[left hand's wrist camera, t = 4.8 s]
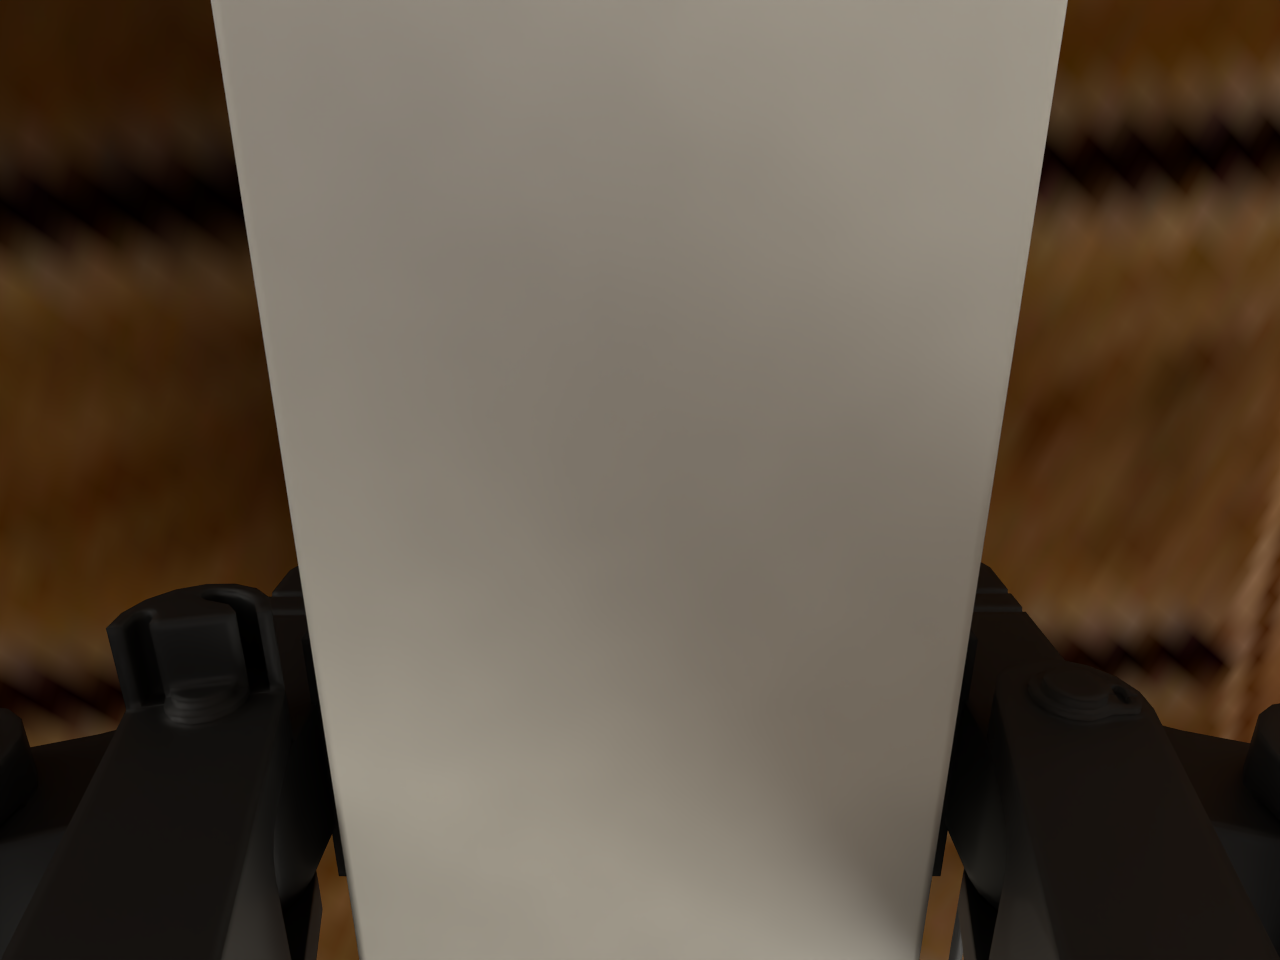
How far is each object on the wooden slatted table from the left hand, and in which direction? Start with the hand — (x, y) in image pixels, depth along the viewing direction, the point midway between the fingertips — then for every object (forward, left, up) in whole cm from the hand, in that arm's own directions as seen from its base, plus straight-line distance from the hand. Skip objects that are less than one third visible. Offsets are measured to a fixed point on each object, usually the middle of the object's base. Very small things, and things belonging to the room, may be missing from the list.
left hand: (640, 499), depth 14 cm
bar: (+3, +24, -1) cm, 25 cm away
